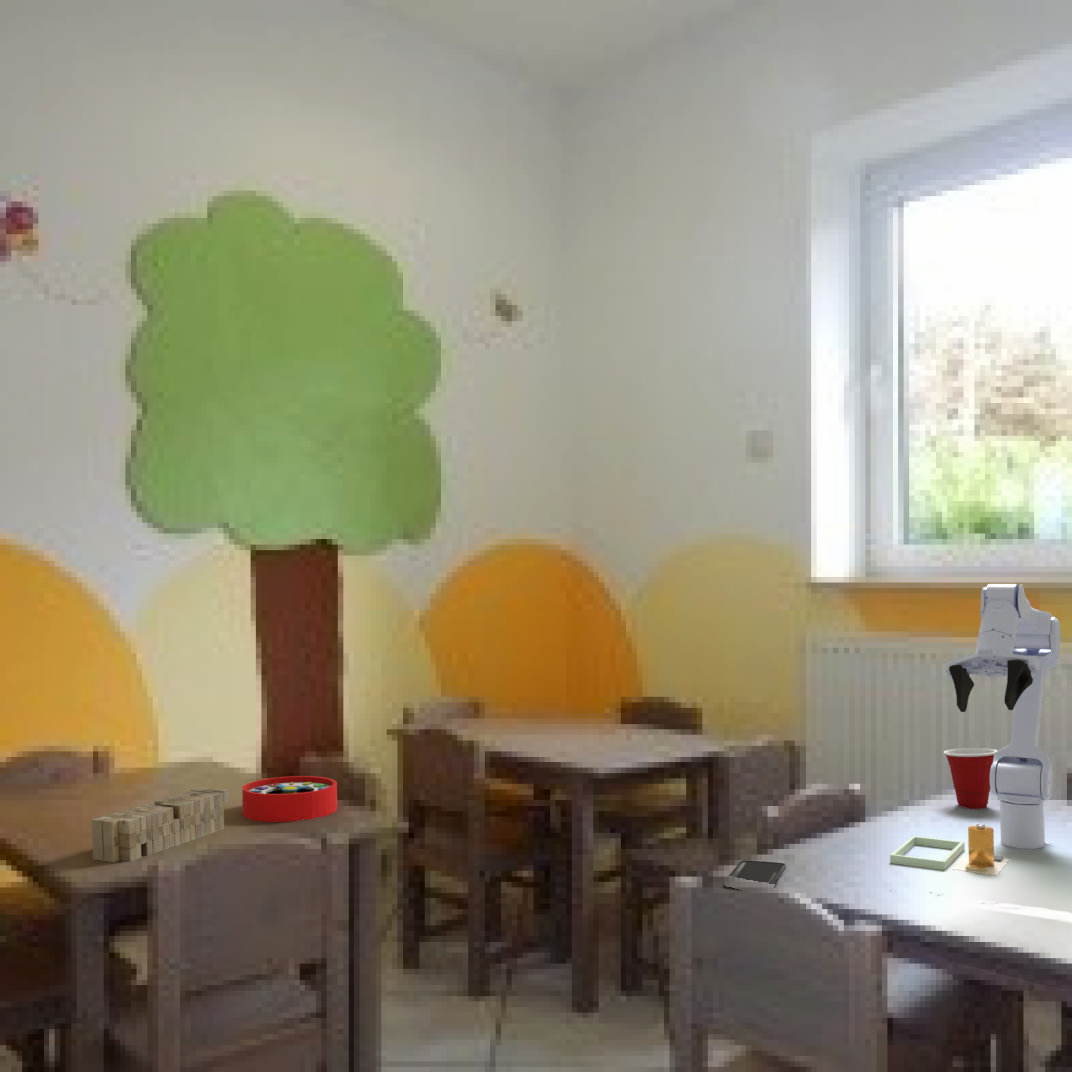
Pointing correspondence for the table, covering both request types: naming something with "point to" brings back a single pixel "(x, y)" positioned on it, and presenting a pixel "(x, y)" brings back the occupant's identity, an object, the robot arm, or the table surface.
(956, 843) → the pale green rectangular frame
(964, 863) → the cream rectangular pad
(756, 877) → the phone
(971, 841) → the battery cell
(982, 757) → the plastic cup
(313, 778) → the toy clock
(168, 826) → the block tower
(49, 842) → the table surface
